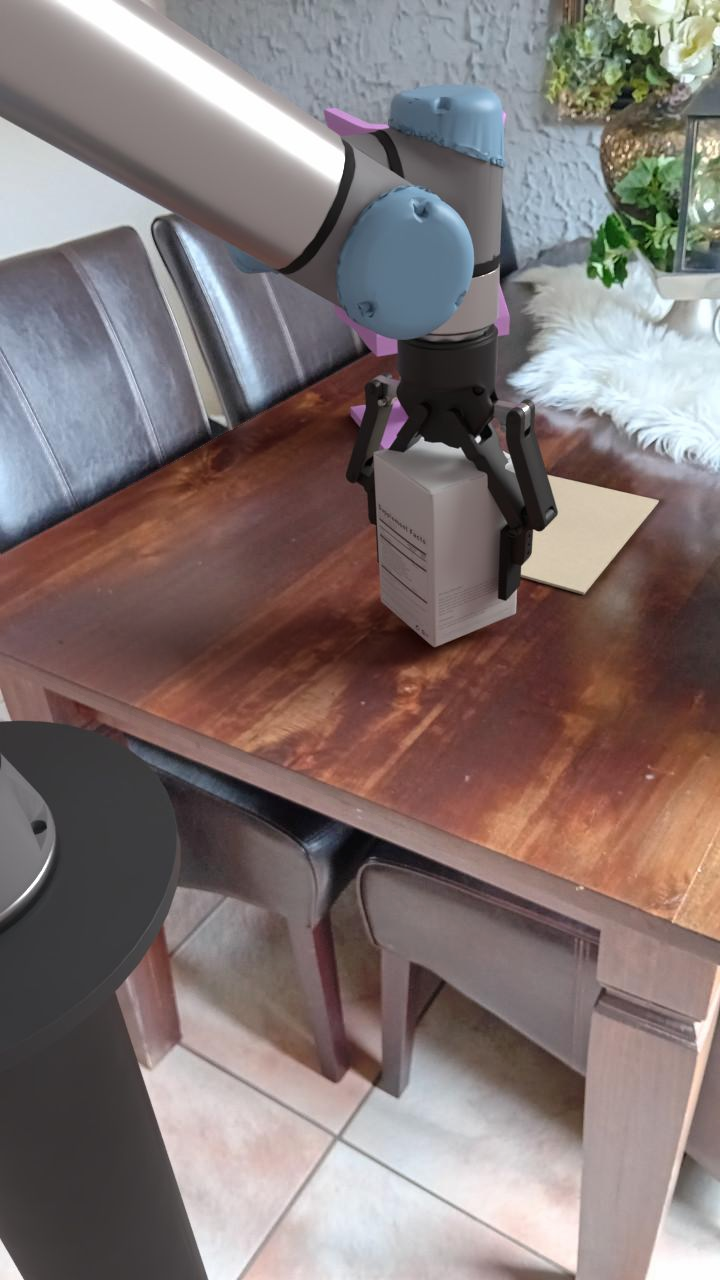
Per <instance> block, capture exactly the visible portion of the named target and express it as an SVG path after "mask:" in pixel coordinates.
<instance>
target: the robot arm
mask: <svg viewBox="0 0 720 1280" xmlns="http://www.w3.org/2000/svg"><path fill="white" fill-rule="evenodd" d="M389 106H390V107H389V108H390V110H389V117H388V119H387V125H388V126H389V128H385V129H379V130H377V131H375V132H370V133H367V134H358V135H349V136H340V135H338V134H337V133H335V132H334V131H333V130H331V129H330V128H328V126H327V125H325V124H324V123H322V122H321V121H319V120H318V119H316V118H315V117H313V116H312V115H310V113H308V112H306V111H305V110H303V109H301V108H300V107H299V106H297V105H296V104H294V103H293V102H291V101H289V100H288V99H287V98H286V97H284V96H282V94H279V93H278V92H277V91H275V90H274V89H272V88H271V87H269V86H268V85H266V84H265V83H263V82H262V81H260V80H259V79H257V78H256V77H254V76H253V75H251V74H250V73H249V72H247V71H246V70H244V69H243V68H241V67H240V66H238V65H236V64H235V63H234V62H233V61H231V60H230V59H228V58H227V57H225V56H224V55H222V54H221V53H219V52H218V51H216V50H215V49H213V48H212V47H210V46H209V45H208V44H207V43H204V42H203V41H201V40H200V39H199V38H197V37H195V35H193V34H191V33H190V32H188V31H187V30H185V28H182V27H181V26H179V25H178V24H176V23H175V22H174V21H172V20H171V19H169V18H168V17H166V16H165V15H163V14H161V13H160V12H159V11H157V10H156V9H154V8H152V7H151V6H150V5H149V4H147V3H146V2H144V1H142V0H0V118H1V119H4V120H5V121H7V122H9V123H11V124H12V125H15V126H16V127H18V128H20V129H22V130H24V131H25V132H27V133H29V134H30V135H32V136H34V137H36V138H37V139H40V140H41V141H43V142H45V143H47V144H49V145H50V146H52V147H53V148H56V149H57V150H59V151H61V152H63V153H64V154H66V155H68V156H70V157H71V158H74V159H76V160H77V161H79V162H81V163H82V164H84V165H86V166H88V167H90V168H91V169H93V170H96V171H97V172H99V173H101V174H102V175H104V176H106V177H108V178H109V179H110V180H111V179H112V180H113V181H115V182H117V183H118V184H120V185H122V186H124V187H126V188H128V189H130V191H131V190H132V191H133V192H134V193H136V194H138V195H140V196H142V197H144V198H145V199H147V200H149V201H151V202H152V203H155V204H156V205H158V206H159V207H161V208H164V209H165V210H167V211H168V212H170V213H172V214H174V215H176V216H178V217H180V218H181V219H183V220H185V221H187V222H188V223H190V224H192V225H195V226H196V227H198V228H200V229H201V230H203V231H205V232H207V233H208V234H210V235H212V236H214V237H215V238H218V239H219V240H221V241H222V242H224V245H225V248H226V250H227V253H228V256H229V257H230V260H231V262H232V263H233V264H234V266H235V267H236V268H237V269H238V270H239V271H240V272H242V273H244V274H248V275H251V274H252V275H254V274H265V273H272V274H275V275H279V274H280V275H282V276H283V277H285V278H287V279H289V280H290V281H292V282H294V283H296V284H298V285H300V286H301V287H303V288H305V289H306V290H308V291H311V292H312V293H314V294H316V295H317V296H319V297H321V298H323V299H325V300H326V301H328V302H330V303H332V304H333V305H334V304H335V305H337V306H338V307H340V308H341V309H343V310H344V311H345V312H346V314H347V316H348V317H349V318H350V319H351V320H352V321H354V322H355V323H357V324H358V325H360V326H363V327H365V328H367V329H370V330H372V331H373V332H375V333H376V334H379V335H381V336H384V337H387V338H390V339H396V340H397V350H398V353H397V372H398V376H399V375H400V377H401V380H400V381H399V380H398V379H394V377H393V375H392V374H391V373H390V372H389V371H383V372H382V373H381V374H379V375H377V376H376V377H374V378H372V379H371V380H370V381H368V382H367V383H365V385H364V398H365V399H364V401H365V405H366V409H365V412H364V415H363V419H362V422H361V425H360V427H359V429H358V433H357V435H356V436H357V437H356V438H355V442H354V445H353V449H352V452H351V455H350V458H349V462H348V465H347V469H346V472H345V478H346V480H347V481H348V482H349V483H350V484H356V483H357V484H359V485H360V486H361V487H363V489H364V492H365V493H366V495H367V516H368V521H369V523H370V525H374V526H375V537H376V539H375V540H376V559H377V563H378V564H379V554H378V533H377V513H376V494H375V475H374V455H373V453H374V452H376V451H379V447H380V444H381V441H382V438H383V435H384V432H385V429H386V426H387V422H388V419H389V416H390V413H391V410H392V406H393V403H395V402H396V401H397V399H398V401H399V402H400V404H401V406H402V407H403V409H404V411H405V412H406V414H407V416H408V417H409V418H408V419H407V421H406V422H405V423H404V425H403V426H402V428H401V429H400V431H399V432H398V434H397V435H396V436H397V437H396V439H395V440H394V442H393V443H392V445H391V446H390V447H389V449H388V450H393V451H398V452H403V453H404V452H405V451H406V450H408V449H409V448H410V447H412V446H413V445H414V444H416V443H417V442H418V441H419V440H420V439H421V437H423V438H424V441H426V442H431V443H440V442H441V443H443V444H445V445H447V446H449V447H453V448H457V449H459V448H460V447H461V449H462V451H463V453H464V454H465V456H466V458H467V459H468V460H469V461H472V462H473V463H474V464H475V466H476V468H477V470H478V471H481V472H485V473H486V474H487V482H488V489H489V491H490V493H491V495H492V496H493V498H494V500H495V502H496V504H497V505H498V507H499V509H500V511H501V513H502V514H503V516H504V518H505V520H506V522H507V523H508V524H507V525H506V526H505V527H504V528H503V529H502V530H501V531H500V552H499V580H498V599H501V600H504V601H506V600H507V599H508V598H509V597H510V596H511V595H512V594H513V593H514V592H515V591H516V590H517V591H518V589H519V588H520V587H521V580H522V577H521V566H522V565H523V564H524V563H525V562H526V561H527V560H528V559H529V557H530V556H531V554H532V541H533V529H534V530H536V531H539V532H540V531H543V530H544V529H545V528H546V527H547V526H548V525H549V524H550V523H551V521H552V520H553V519H554V518H555V517H556V516H557V514H558V510H557V507H556V503H555V500H554V496H553V493H552V489H551V486H550V482H549V479H548V475H549V474H548V472H547V469H546V464H545V462H544V459H543V458H544V457H543V455H542V451H541V448H540V444H539V441H538V438H537V434H536V431H535V421H536V418H535V416H536V405H535V402H533V400H531V399H528V398H525V399H523V400H521V401H520V402H519V403H516V402H511V401H506V400H502V399H500V397H499V394H498V392H497V389H496V379H497V373H498V350H499V336H498V329H497V327H496V326H495V325H494V322H495V321H496V320H497V318H498V314H499V283H500V269H501V263H500V262H501V239H502V236H501V235H502V212H503V188H504V187H503V185H504V169H505V168H506V165H507V164H506V163H507V160H506V158H505V123H504V124H503V111H504V110H503V103H502V101H501V99H500V97H499V96H498V95H497V93H496V92H495V91H493V90H492V89H490V88H487V87H484V86H479V85H474V84H473V85H472V84H455V83H454V84H434V85H425V86H417V87H415V88H413V89H412V88H410V89H409V88H408V89H404V90H401V91H399V92H398V93H395V95H394V96H393V98H392V99H391V101H390V105H389ZM494 418H496V419H497V420H498V421H499V423H500V427H499V429H500V432H501V433H504V434H505V441H506V447H507V451H508V454H509V455H510V457H511V461H512V464H513V467H514V470H515V473H514V472H511V471H509V470H507V469H505V465H506V464H507V463H508V460H507V458H506V456H505V454H504V453H503V451H504V450H503V448H502V447H501V446H500V436H499V434H498V432H497V430H496V429H495V427H494V425H493V423H492V420H493V419H494ZM479 435H480V437H481V441H480V442H479V443H477V442H476V440H475V439H476V438H477V437H478V436H479ZM515 474H516V475H515ZM59 854H60V840H59V834H58V831H57V828H56V825H55V822H54V819H53V816H52V813H51V811H50V809H49V807H48V805H47V804H46V802H45V801H44V800H43V798H42V797H41V796H40V794H39V793H38V792H37V791H36V790H35V789H34V788H33V787H32V786H31V785H30V784H29V783H28V782H27V781H26V780H25V778H24V777H23V776H22V775H21V774H20V773H19V772H18V771H17V770H16V769H15V768H14V767H13V766H12V765H11V764H10V763H9V762H8V760H7V759H6V758H5V757H4V756H3V755H2V754H1V752H0V934H2V933H3V932H5V931H6V930H8V929H9V928H10V927H12V926H13V925H14V924H15V923H17V922H18V921H19V920H20V919H21V918H22V917H23V916H24V915H25V914H26V913H27V912H28V911H29V910H30V909H31V908H32V907H33V906H34V905H35V904H36V903H37V902H38V900H39V899H40V898H41V896H42V895H43V894H44V892H45V891H46V889H47V887H48V886H49V884H50V882H51V880H52V878H53V876H54V873H55V871H56V868H57V865H58V860H59Z"/></svg>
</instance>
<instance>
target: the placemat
mask: <svg viewBox="0 0 720 1280" xmlns="http://www.w3.org/2000/svg"><path fill="white" fill-rule="evenodd" d="M547 475H548V479H549V482H550V486H551V489H552V493H553V496H554V500H555V503H556V507H557V510H558V514H557V516H556V517H555V518H554V519H553V520H552V521H551V523H550V524H549V525H548V526H547V527H546V528H545V529H544V530H543V531H540V532H539V531H536V530H534V529H533V541H532V554H531V556H530V557H529V559H528V560H527V561H526V562H525V563H524V564H523V565H522V566H521V578H523V579H525V580H530V581H534V582H536V583H541V584H544V585H547V586H551V587H554V588H559V589H561V590H565V591H567V592H568V591H569V592H573V593H576V594H579V595H582V596H584V595H585V594H586V593H587V592H588V590H589V589H591V587H592V585H593V584H594V583H595V582H596V580H597V579H598V578H599V577H600V576H601V575H602V573H603V572H604V571H605V570H606V568H607V567H608V566H609V565H610V563H611V562H612V561H613V560H614V559H615V557H616V556H617V555H618V553H619V552H620V551H621V550H622V548H623V547H624V546H625V545H626V544H627V542H628V541H629V540H630V538H631V537H632V536H633V535H634V534H635V532H636V531H637V530H638V529H639V528H640V526H641V525H642V524H643V522H644V521H645V520H646V519H647V518H648V516H649V515H650V514H651V513H652V511H653V510H654V509H655V508H656V506H657V505H658V504H659V502H660V500H659V499H655V498H651V497H646V496H642V495H638V494H633V493H629V492H625V491H620V490H616V489H611V488H606V487H602V486H598V485H595V484H590V483H585V482H581V481H577V480H572V479H567V478H564V477H558V476H555V475H550V474H547Z"/></svg>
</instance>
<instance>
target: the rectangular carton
mask: <svg viewBox="0 0 720 1280" xmlns="http://www.w3.org/2000/svg"><path fill="white" fill-rule="evenodd" d="M475 440H476V442H477V443H479V442H480V441H481V437H479V436H478V437H477V438H476V439H475ZM388 449H389V448H387V449H383V450H380V451H379V450H378V451H376V452H374V453H373V455H374V466H373V468H374V475H375V494H376V513H377V533H378V554H379V563H378V570H379V573H378V574H379V589H380V590H379V591H380V602H381V603H382V604H383V605H384V606H385V607H387V608H388V609H389V610H390V611H391V612H392V613H394V614H395V615H396V616H397V617H398V618H399V619H400V620H402V621H403V623H405V624H406V625H407V626H408V627H409V628H411V629H412V631H414V632H415V633H417V635H419V636H420V637H421V638H422V639H423V640H424V641H425V642H426V643H428V644H429V645H430V646H431V647H433V648H437V647H439V646H442V645H444V644H446V643H449V642H452V641H454V640H456V639H458V638H460V637H464V636H466V635H468V634H471V633H473V632H476V631H478V630H480V629H483V628H485V627H488V626H490V625H491V624H495V623H497V622H499V621H503V620H504V619H507V618H509V617H512V616H514V615H516V613H517V596H518V595H517V594H518V593H517V592H518V589H517V590H516V591H515V592H514V593H513V594H512V595H511V596H510V597H509V598H508V599H507V600H506V601H504V600H501V599H498V580H499V552H500V531H501V530H502V529H503V528H504V527H505V526H506V525H507V524H508V523H507V522H506V520H505V518H504V516H503V514H502V513H501V511H500V509H499V507H498V505H497V504H496V502H495V500H494V498H493V496H492V495H491V493H490V491H489V489H488V482H487V474H486V473H485V472H481V471H478V470H477V468H476V466H475V464H474V463H473V462H472V461H469V460H468V459H467V458H466V456H465V454H464V453H463V451H462V449H461V447H460V448H459V449H457V448H453V447H449V446H447V445H445V444H443V443H441V442H440V443H431V442H426V441H424V438H423V437H422V438H421V439H420V440H419V441H418V442H417V443H416V444H414V445H413V446H412V447H410V448H409V449H408V450H406V451H405V452H404V453H403V452H398V451H393V450H388ZM502 451H503V453H504V454H505V456H506V458H507V460H508V463H507V464H506V465H505V469H507V470H509V471H511V472H514V473H515V470H514V467H513V464H512V461H511V457H510V454H509V452H506V451H504V450H502ZM515 475H516V474H515Z"/></svg>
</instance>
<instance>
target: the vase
mask: <svg viewBox="0 0 720 1280" xmlns="http://www.w3.org/2000/svg"><path fill="white" fill-rule="evenodd" d="M323 114H324V120H325V123H326V126H327V127H328V128H330V129H331V130H333V131H334V132H335V133H337V134H338V135H340V136H349V135H358V134H367V133H370V132H375V131H377V130H379V129H385V128H389V126H388V124H383V123H382V124H381V123H369V122H367V121H365V120H362V119H360V118H358V117H356V116H353V115H352V114H350V113H348V112H345V111H343V110H340V109H339V108H337V107H332V108H331V107H329V108H324V109H323ZM506 119H507V113H506V111H504V110H503V124H504V125H505V124H506ZM500 283H501V282H499V314H498V318H497V320H496V321H495V322H494V325H495V326H496V327H497V329H498V337H502V336H509V335H510V320H511V316H510V313H509V309H508V306H507V303H506V299H505V296H504V293H503V290H502V287H501V284H500ZM333 305H334V306H333V307H334V315H335V316H336V317H338V318H339V319H340V320H341V322H343V323H345V324H346V325H348V326H349V327H350V328H351V329H352V330H353V331H354V332H355V333H356V334H357V335H358V336H359V337H360V338H361V340H362V341H363V343H364V344H365V345H366V347H367V348H368V349H369V350H370V351H371V352H372V353H373V354H374V355H375V356H376V357H384V356H389V355H390V356H391V355H395V354H398V350H397V340H396V339H390V338H387V337H384V336H381V335H379V334H376V333H375V332H373V331H372V330H370V329H367V328H365V327H363V326H360V325H358V324H357V323H355V322H354V321H352V320H351V319H350V318H349V317H348V316H347V314H346V312H345V311H344V310H343V309H341V308H340V307H338V306H337V305H335V304H333ZM398 376H399V377H398V378H399V381H400V380H401V377H400V375H399V374H398ZM365 409H366V404H360V405H355V406H350V417H351V418H352V419H353V421H354V422H355V424H357V425H358V427H359V428H360V425H361V422H362V419H363V415H364V412H365ZM408 418H409V417H408V416H407V414H406V412H405V411H404V409H403V407H402V406H401V404H400V402H399V401H398V398H397V401H396V402H395V403H393V406H392V410H391V413H390V416H389V419H388V422H387V426H386V429H385V432H384V435H383V438H382V441H381V444H380V447H379V450H378V451H380V450H383V449H387V448H389V447H390V446H391V445H392V443H393V442H394V440H395V439H396V437H397V436H396V435H397V434H398V432H399V431H400V429H401V428H402V426H403V425H404V423H405V422H406V421H407V419H408ZM479 437H480V435H479ZM421 438H422V437H421Z"/></svg>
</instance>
